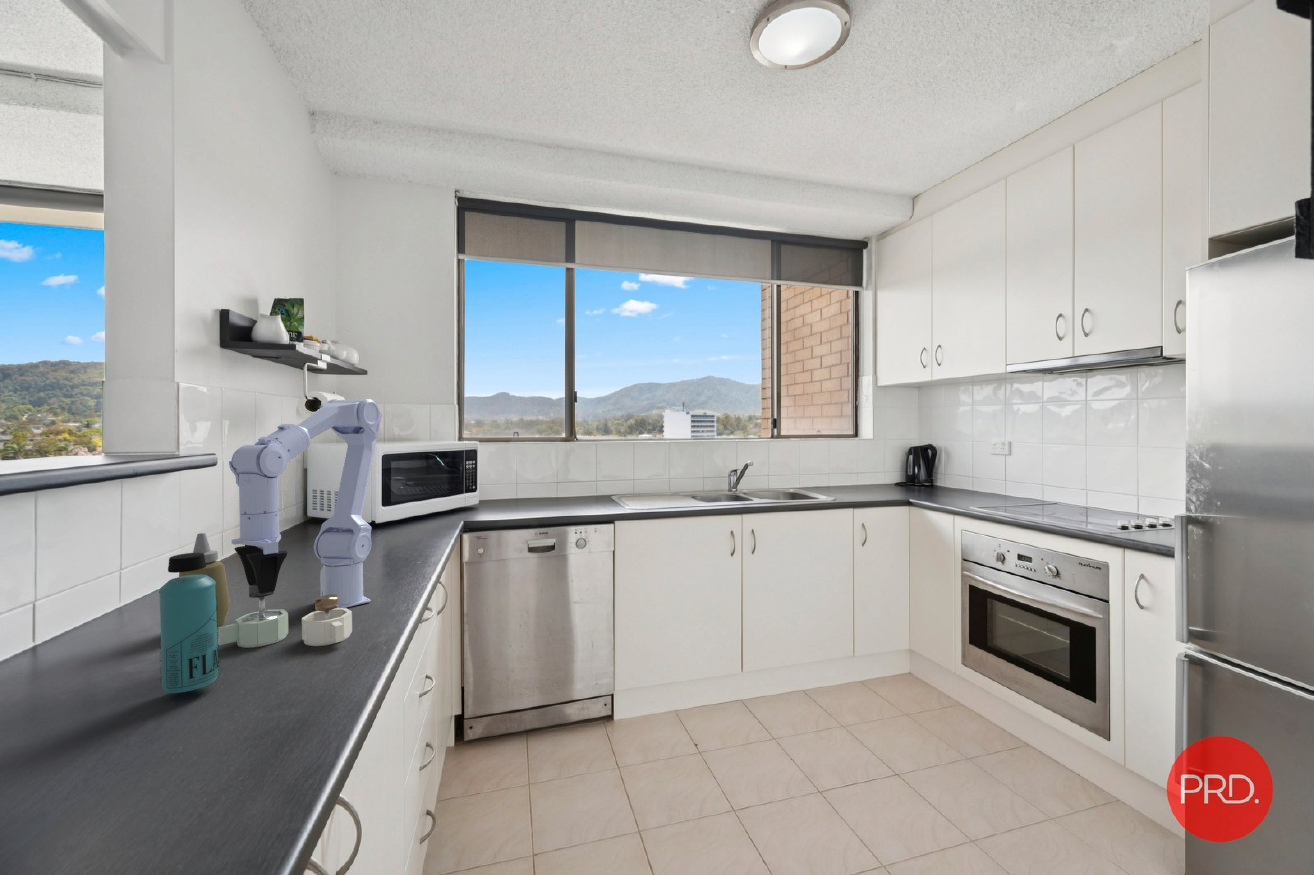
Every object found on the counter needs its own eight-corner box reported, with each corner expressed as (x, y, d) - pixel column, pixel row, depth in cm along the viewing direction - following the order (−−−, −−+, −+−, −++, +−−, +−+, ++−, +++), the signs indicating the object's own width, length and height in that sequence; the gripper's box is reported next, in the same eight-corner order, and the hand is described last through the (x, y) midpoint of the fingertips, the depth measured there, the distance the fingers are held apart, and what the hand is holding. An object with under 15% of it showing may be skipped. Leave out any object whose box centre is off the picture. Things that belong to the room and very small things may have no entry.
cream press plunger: (307, 634, 99) (306, 598, 99) (337, 626, 103) (337, 591, 103) (316, 641, 96) (315, 604, 95) (347, 633, 99) (347, 597, 99)
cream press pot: (298, 638, 99) (298, 615, 99) (342, 627, 104) (342, 605, 104) (316, 653, 92) (315, 628, 92) (362, 641, 98) (361, 617, 98)
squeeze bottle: (241, 621, 108) (239, 529, 107) (203, 637, 100) (201, 538, 99) (203, 620, 109) (201, 529, 108) (163, 636, 101) (160, 537, 100)
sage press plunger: (241, 621, 98) (240, 585, 98) (275, 613, 102) (274, 579, 102) (248, 628, 95) (247, 590, 95) (282, 620, 99) (281, 584, 99)
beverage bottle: (186, 706, 75) (182, 560, 75) (147, 702, 76) (143, 558, 76) (231, 684, 82) (228, 549, 81) (195, 680, 83) (192, 548, 82)
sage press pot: (280, 629, 104) (280, 606, 104) (292, 638, 99) (291, 615, 99) (214, 644, 96) (214, 620, 96) (223, 656, 92) (222, 631, 92)
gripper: (222, 510, 100) (224, 585, 100) (241, 519, 90) (243, 602, 91) (269, 506, 105) (270, 577, 105) (291, 514, 95) (293, 592, 96)
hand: (261, 588), depth 98 cm, fingers open, 7 cm apart
